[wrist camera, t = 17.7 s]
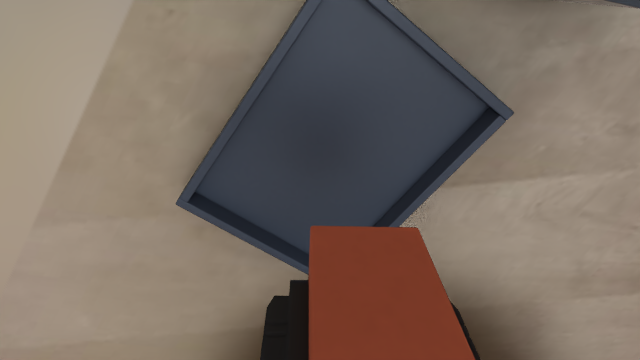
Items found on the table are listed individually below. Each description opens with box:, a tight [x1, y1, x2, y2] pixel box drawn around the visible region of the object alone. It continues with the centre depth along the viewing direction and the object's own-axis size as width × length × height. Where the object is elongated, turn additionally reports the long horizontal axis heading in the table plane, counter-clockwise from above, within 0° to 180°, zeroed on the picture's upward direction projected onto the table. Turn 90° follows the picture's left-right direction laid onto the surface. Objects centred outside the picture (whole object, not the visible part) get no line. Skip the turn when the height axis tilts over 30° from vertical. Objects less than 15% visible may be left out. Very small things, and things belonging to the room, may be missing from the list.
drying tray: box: [176, 0, 514, 275], centre depth 23 cm, size 17×13×2 cm
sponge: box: [308, 226, 475, 360], centre depth 11 cm, size 4×6×5 cm, turn 178°
